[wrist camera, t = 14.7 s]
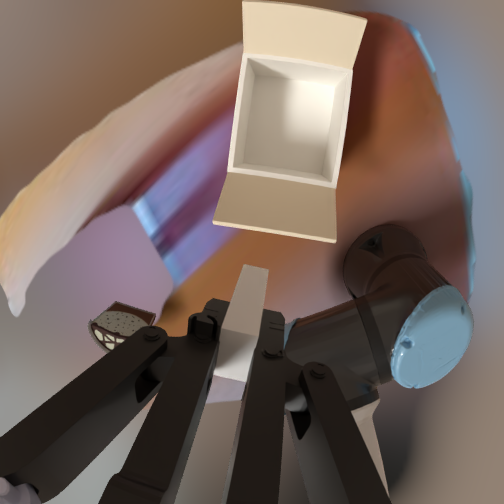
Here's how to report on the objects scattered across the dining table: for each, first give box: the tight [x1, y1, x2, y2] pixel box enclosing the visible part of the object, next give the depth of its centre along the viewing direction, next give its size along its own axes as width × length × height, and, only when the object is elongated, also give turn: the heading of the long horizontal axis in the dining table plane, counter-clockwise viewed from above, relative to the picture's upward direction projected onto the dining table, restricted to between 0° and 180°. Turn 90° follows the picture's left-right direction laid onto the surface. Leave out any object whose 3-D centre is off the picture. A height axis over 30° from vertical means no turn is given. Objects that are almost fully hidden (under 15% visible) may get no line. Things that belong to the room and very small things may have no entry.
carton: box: [227, 53, 353, 189], centre depth 35 cm, size 13×15×10 cm
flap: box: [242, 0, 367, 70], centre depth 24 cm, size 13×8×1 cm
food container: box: [87, 301, 156, 353], centre depth 51 cm, size 12×6×10 cm, turn 78°
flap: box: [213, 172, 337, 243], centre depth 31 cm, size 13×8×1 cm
